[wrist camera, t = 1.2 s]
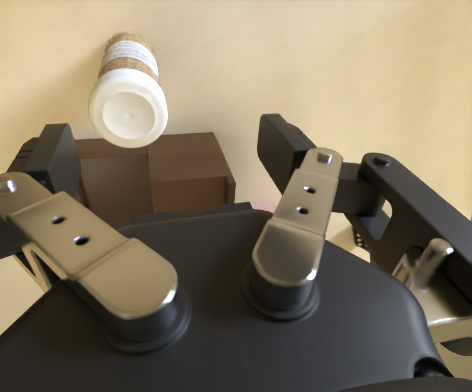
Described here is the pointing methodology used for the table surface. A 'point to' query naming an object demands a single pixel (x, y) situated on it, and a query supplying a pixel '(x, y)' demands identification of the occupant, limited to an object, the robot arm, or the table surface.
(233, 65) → the table surface
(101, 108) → the sprinkles bottle
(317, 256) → the robot arm
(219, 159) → the shelf
